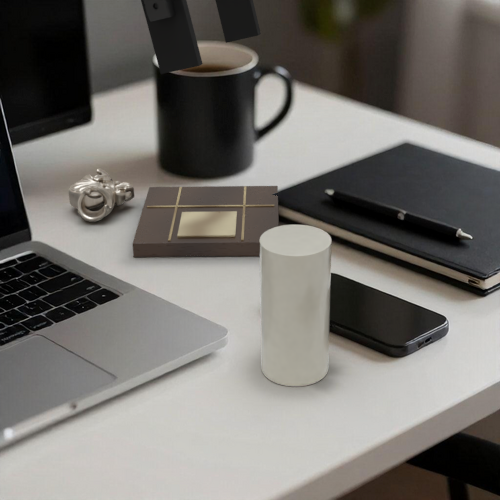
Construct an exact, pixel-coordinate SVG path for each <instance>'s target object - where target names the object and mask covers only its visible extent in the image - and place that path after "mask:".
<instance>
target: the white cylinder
mask: <svg viewBox="0 0 500 500" xmlns="http://www.w3.org/2000/svg"><path fill="white" fill-rule="evenodd" d="M332 240H333V239H332V236H331V235H330V234H329V233H328V232H327V231H326V230H324V229H322V228H319V227H316V226H313V225H307V224H283V225H279V226H278V227H274V228H272V229H269V230H267V231H266V232H264V233H263V234H262V235H261V237H260V240H259V248H260V256H259V302H260V303H259V307H260V308H259V312H260V368H261V373H262V374H263V375H264V376H265V377H266V379H268V380H269V381H271V382H273V383H275V384H276V385H277V384H278V385H281V386H284V387H285V386H286V387H306V386H310V385H314V384H316V383H318V382H319V381H321V380H323V379H324V378H325V377H326V376H327V374H328V372H329V365H330V363H329V362H330V361H329V360H330V322H331V282H332V281H331V280H332V245H333V244H332V243H333V242H332Z"/></svg>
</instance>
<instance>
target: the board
mask: <svg viewBox="0 0 500 500" xmlns="http://www.w3.org/2000/svg"><path fill="white" fill-rule="evenodd" d="M278 188H279V187H278V185H235V186H234V185H221V186H220V185H217V186H213V185H212V186H211V185H210V186H209V185H208V186H206V185H205V186H149V187H148V190H147V194H146V196H145V200H144V203H143V207H142V210H141V214H140V217H139V220H138V224H137V227H136V231H135V233H134V237H133V241H132V254H133V257H134V258H164V257H165V258H166V257H167V258H169V257H174V258H177V257H180V258H181V257H185V258H186V257H187V258H189V257H260V248H259V240H260V237H261V235H262V234H263V233H264V232H266V231H267V230H269V229H272V228H274V227H278V226H280V223H279V222H280V221H279V195H278V196H277V195H276V196H275V195H272V194H274V193H278V194H279V189H278Z"/></svg>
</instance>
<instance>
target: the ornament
mask: <svg viewBox="0 0 500 500" xmlns="http://www.w3.org/2000/svg"><path fill="white" fill-rule="evenodd" d="M95 173H96V175H93V176H92V174H91V173H88V174H86V175H84V176H83V178H82V179H79V180H77V181H76V182H74V183H72V184H71V185H70V186H69V188H68V200H69V204H70V205H71V206H72V207H73V208H74V209H77V214H78V215H79V216H80V217H81V218H82V219H83V220H84V221H87V222H90V223H96V222H99V221H101V220H103V219H104V218H106V217H107V216H108V215H109V214H110V213H112V211H113V209H115V206H117V207H118V206H122V205H123V204H124V203H125V202H126V203H127V202H130V201H131V200H133V199H134V198H135V188H134V186H133V185H132V184H131V182H127V181H123V182H121V181H120V180H114V181H113V178H112V177H111V175H110V174H109V173H108V172H107V171H106V170H104V169H102V168H100V167H98V168H96V170H95ZM102 205H103V206H102ZM101 206H102V207H101ZM98 207H101V208H100V209H98V210H92V209H95V208H98Z"/></svg>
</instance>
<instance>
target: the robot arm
mask: <svg viewBox="0 0 500 500" xmlns="http://www.w3.org/2000/svg"><path fill="white" fill-rule="evenodd" d="M214 1H215V4H216V9H217V12H218V16H219V20H220V24H221V25H220V26H221V29H222V33H223V37H224V40H225V41H224V42H225V43H226V44H227V43H231V42H236V41H241V40H244V39H249V38H253V37H257V36H260V35H261V34H262V33H261V29H260V25H259V19H258V16H257V11H256V8H255V3H254V0H214ZM140 2H141V7H142V9H143V10H142V11H143V13H144V17H145V21H146V24H147V28H148V33H149V35H150V39H151V40H150V41H151V43H152V47H153V51H154V54H155V57H156V61H157V65H158V69H159V74H160V75H164V74H169V73H175V72H179V71H183V70H186V69H192V68H196V67H200V66H202V65H203V64H204V63H203V60H202V56H201V52H200V49H199V45H198V44H199V43H198V40H197V36H196V32H195V28H194V25H193V21H192V16H191V13H190V8H189V4H188V1H187V0H140Z"/></svg>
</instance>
